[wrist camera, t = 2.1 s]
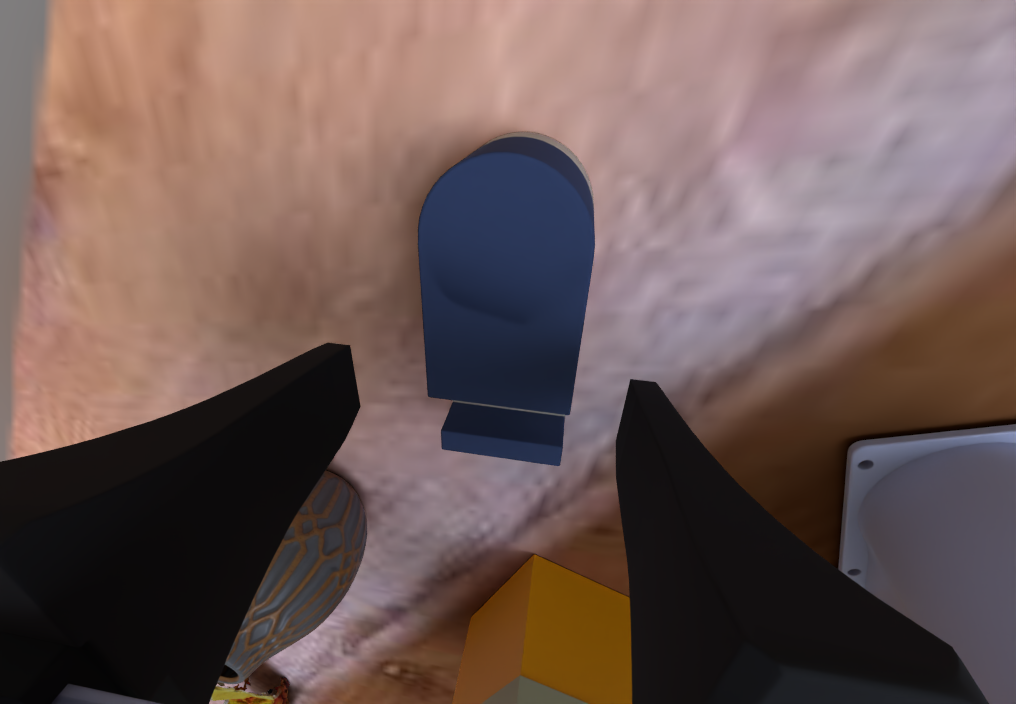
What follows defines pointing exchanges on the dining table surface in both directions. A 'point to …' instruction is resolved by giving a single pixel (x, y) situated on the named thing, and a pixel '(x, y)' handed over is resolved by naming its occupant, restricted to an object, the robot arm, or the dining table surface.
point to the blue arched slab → (506, 294)
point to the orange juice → (548, 642)
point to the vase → (302, 576)
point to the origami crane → (251, 694)
